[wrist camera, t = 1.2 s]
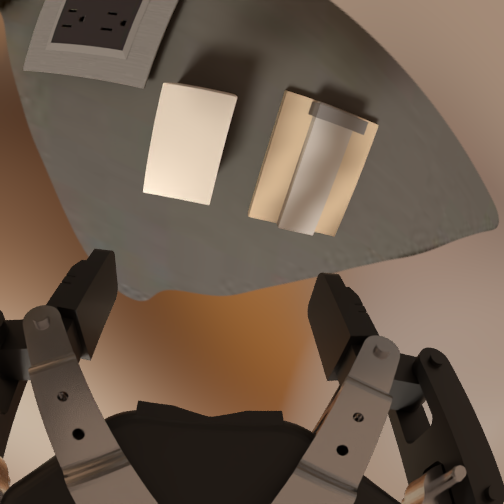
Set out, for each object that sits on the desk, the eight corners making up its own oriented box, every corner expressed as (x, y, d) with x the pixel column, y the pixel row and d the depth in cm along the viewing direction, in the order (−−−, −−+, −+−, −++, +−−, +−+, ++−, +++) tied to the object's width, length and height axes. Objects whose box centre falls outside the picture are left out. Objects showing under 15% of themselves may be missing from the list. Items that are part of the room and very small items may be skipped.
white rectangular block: (212, 180, 27) (209, 207, 22) (159, 169, 26) (142, 194, 21) (235, 94, 23) (237, 97, 18) (177, 82, 22) (163, 82, 17)
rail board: (247, 212, 29) (250, 228, 26) (285, 90, 23) (293, 91, 20) (331, 231, 31) (342, 248, 28) (373, 123, 25) (391, 130, 22)
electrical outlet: (192, -16, 17) (188, -24, 15) (149, 88, 22) (142, 88, 20) (68, -26, 14) (57, -31, 12) (34, 69, 19) (20, 70, 17)
